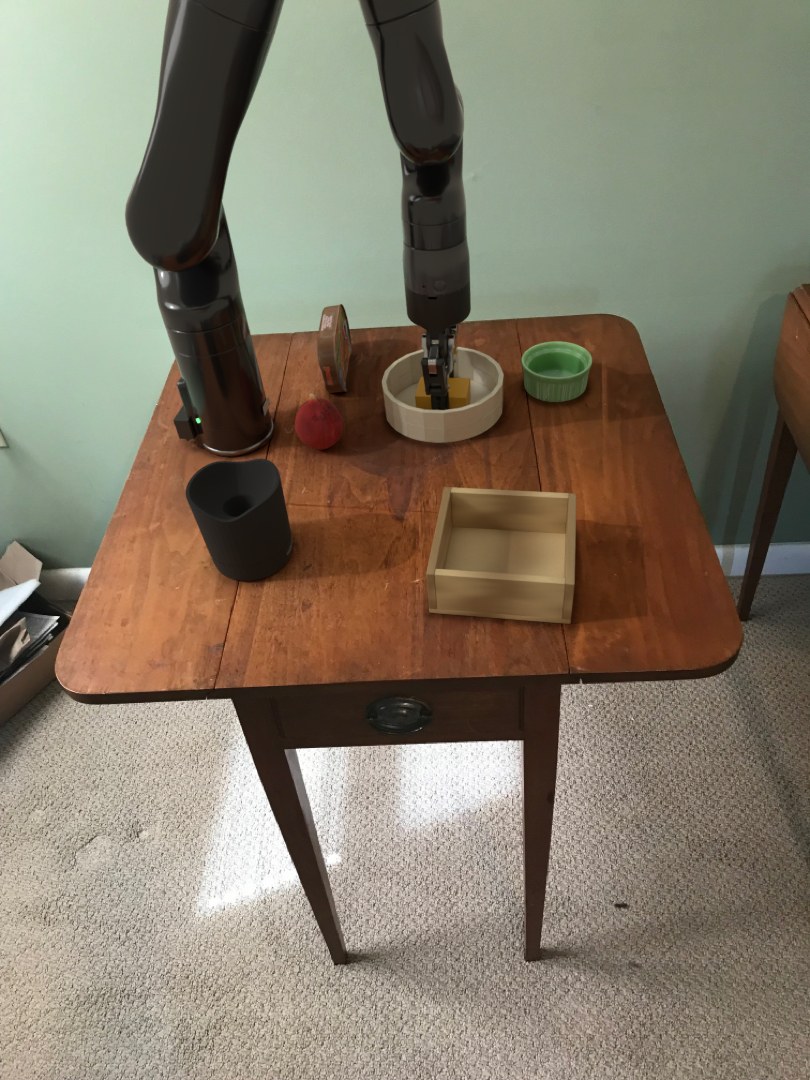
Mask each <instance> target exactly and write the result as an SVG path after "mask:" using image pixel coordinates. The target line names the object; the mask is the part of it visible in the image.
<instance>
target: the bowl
mask: <svg viewBox="0 0 810 1080" xmlns="http://www.w3.org/2000/svg"><path fill="white" fill-rule="evenodd" d="M422 357H424V350H423V349H422V348H421V349H419V350H416V351H413V352H410V353H407V354H405V355H404V356H402V357H399V358H398V359H397V360H395V361H393V362H392V364H390V365H389V366H388V367H387V368H386V370H385V371H384V373H383V376H382V379H381V389H382V396H383V406H384V413H385V417H386V421H387V422H388V424H389V425H390V426H391V427H392V428H393V430H395V431H396V432H398V433H399V434H401V435H402V436H404V437H407V438H410V439H412V440H415V441H418V442H419V441H420V442H424V443H433V444H434V443H435V444H437V443H438V444H439V443H440V444H444V443H445V444H446V443H455V442H460V441H465V440H468V439H471V438H474V437H477V436H479V435H481V434H483V433H485V432H486V431H488V430H489V429H490V428H492V427H493V426H494V425H495V424H496V423H497V422H498V420H499V419H500V417H501V416H502V414H503V409H504V392H505V391H504V385H505V383H504V382H505V381H504V380H505V374H504V371H503V369H502V367H501V365H500V363H499V362H498V361H496V360H495V359H494V358H493V357H492V356H490V355H489V354H486V353H483V352H482V351H479V350H477V349H472V348H467V347H463V346H458V350H457V354H456V355H455V359H456V363H455V366H454V378H470V392H471V398H470V403H469V405H467V406H465V407H462V408H455V409H448V410H425V409H420V408H416V403H415V394H416V391H417V387H418V384H419V380H420V377H423V371H422V365H421V360H422Z"/></svg>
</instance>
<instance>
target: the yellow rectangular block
mask: <svg viewBox="0 0 810 1080" xmlns="http://www.w3.org/2000/svg"><path fill="white" fill-rule="evenodd" d="M449 385H450V389H449V404H450V409H455V408H462V407H465V406H467V405H469V403H470V398H471V392H470V378H449ZM415 403H416V408H420V409H425V410H432V407H431V395H426V392H425V385H424V378H423V377H420V380H419V384H418V387H417V391H416V394H415Z"/></svg>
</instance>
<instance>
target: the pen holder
mask: <svg viewBox="0 0 810 1080" xmlns="http://www.w3.org/2000/svg"><path fill="white" fill-rule="evenodd" d="M185 497H186V501H187V503H188V506H189V508H190V510H191V513H192V515H193V518H194V520H195V523H196V525H197V527H198V529H199V532H200V535H201V536H202V540H203V541H204V544H205V547H206V548H207V551H208V553H209V555H210V558H211V560H212V562H213V564H214V566H215V568H216V569H217V571H218V572H219V573H221V574H222V575H223V576H225V577H226V578H228V579H231V580H234V581H239V582H253V581H258V580H262V579H265V578H267V577H270V576H272V575H274V574H275V573H277V572H279V570H281V569H282V568H283V567H284V566H285V565H286V564H287V562H288V561H289V560H290V558H291V556H292V554H293V549H294V541H293V536H292V530H291V524H290V520H289V514H288V509H287V503H286V498H285V494H284V489H283V484H282V479H281V474H280V470H279V469H278V467H277V466H276V464H275V463H273V461H271V460H269V459H266V458H253V459H248V460H243V461H242V460H241V461H240V460H239V461H236V460H235V461H234V460H218V461H214V462H210V463H208V464H205V465H204V466H202V467H201V468H199V469H198V470H197V471H196V472H195V473H194V474H193V475H192V476H191V477H190V479H189V480H188V482H187V485H186V488H185Z"/></svg>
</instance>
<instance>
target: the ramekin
mask: <svg viewBox="0 0 810 1080" xmlns="http://www.w3.org/2000/svg"><path fill="white" fill-rule="evenodd" d="M520 360H521V367H522V370H523V371H522V372H523V385H524V389H525V391H526V392H527V394H529V396H531V397H532V398H534V399H537V400H539V401H543V402H550V403H561V402H566V401H567V402H568V401H571V400H574V399H576V398H578V397H580V396H582V394H584V392H585V391H586V389H587V386H588V385H587V384H588V379H589V374H590V371H591V368H592V364H593V356H592V355H591V353H590V352H589V350H588V349H586V348H585V347H583V346H581V345H579V344H577V343H572V342H567V341H546V342H541V343H538V344H535V345H533V346H531V347H529V348H528V349H527V350H525V351H524V352H523V354H522V356H521V359H520Z"/></svg>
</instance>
